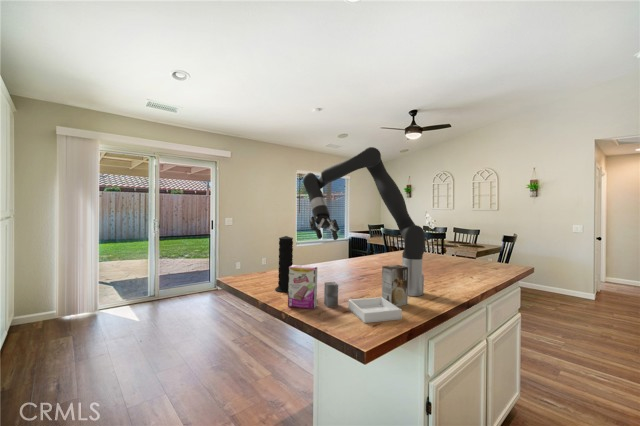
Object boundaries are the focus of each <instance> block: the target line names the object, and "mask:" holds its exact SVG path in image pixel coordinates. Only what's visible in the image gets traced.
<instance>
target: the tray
mask: <svg viewBox="0 0 640 426" xmlns="http://www.w3.org/2000/svg"><path fill="white" fill-rule="evenodd" d="M347 302H348V303H347V304H348V305H347V309H348V310H350V312H351V313H352V314H354V315H355V316H356V317H357V318H358V319H359V320H360V321H361V322H363V324H369V323H377V322H378V323H379V322H389V321H396V320H403V319H402V312H403V309H401V308H399V306H395V305H393V304H392V303H390V302H389V301H387V300H385V299H384V298H382V296H378V297H367V298H354V299H348V301H347Z"/></svg>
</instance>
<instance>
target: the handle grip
mask: <svg viewBox="0 0 640 426" xmlns="http://www.w3.org/2000/svg"><path fill="white" fill-rule="evenodd" d="M278 245H279V246H278V275H277V277H278V282H277V284H278V286H276V287H275V289H274V291H275V292H277V293H283V294H285V293H286V294H288V281H289V267H290V266H291V265H294V263H293V260H294V259H293V257H294V255H293V253H294V246H293V245H294V238H293V237H290V236H288V235H284V236H281V237H279V238H278Z"/></svg>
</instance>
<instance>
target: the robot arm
mask: <svg viewBox="0 0 640 426" xmlns="http://www.w3.org/2000/svg"><path fill="white" fill-rule="evenodd" d="M364 168H366V169H367V171H368V172H369V174H370V175H371V177H372V179H373V181H374V184H375V186H376V189H377V191H378V194H379V196H380V197H381V199H382V201H383V203H384V204H385V206H386V207H385V208H387V210H388V212H389V213H390V215H391V216H392V218H393V219H394V221H395V223H396V226H397V228H398V230H399V233H400V235H401V238H402V239H403V240H404V248H403V251H402V253H401V254H402V256H401V257H402V261H401V266H405V267H408V296H409V297H420V296H422V295H424V291H425V290H424V288H425V287H424V285H425V283H424V282H425V274H423V255H424V252H425V242H426V235H425V231H424V229H423V227H421V226H420V225H417V224H415V222H414V220H413V219H412V217H411V215H410V214H409V212H408V209H407V204H406V201H405V198H404V196H403V194H402V192H401V190H400V188H399V187H398V184H397V183H396V182H395V181H394V179H393V178H392V176H391V175H390V174H389V172H388V171H387V169H386V167H385V165H384V163H383V160H382V154H381V152H380V150H379V149H378V148H376V147H373V146H369V147H367V148H365V149H364V150H362V151H361V152H360V153H358V154H357V155H354V156H353V157H351V158H349V159H346V160H344V161H342V162H339V163H337V164H334V165H332V166H329V167H327V168H325V169H323V170H322V171H320V176H319V177H317V176H316V175H315V173H313V172H307V173H305V174H304V176H303V178H302V182H303V185H304V189H305V191H306V192H307V195H308V196H307V197H308V200H309V204H310V208H311V209H310V210H311V212H312V215H313V216H311V217H310V218H309V226H310V230H311V231H314V232H315V233H316V237H317V239H318V240H321V239H323V234H322V231H321V229H326V230H327V231H329V232H330V233H331V235H332V239H333V241H336V240H338V238H339V236H338V232H339V231H340V227H339V224H338V222H337V220H336V219H333V220H332V219H331V218H330V212H329V211H330V210H329V207H328V205H327V202H326V199H325V196H324V193H323V192H322V189H323V188H324V187H325V186H327V185H328V184H330V183H333V182H334V181H337V180H339V179H341V178H344V177H346V176H347V175H349V174H350V173H353V172H355V171H358V170H361V169H364ZM316 224H317V225H316Z"/></svg>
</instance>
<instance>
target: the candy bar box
mask: <svg viewBox="0 0 640 426" xmlns="http://www.w3.org/2000/svg"><path fill="white" fill-rule="evenodd" d="M317 294H318V266H313V265H312V266H311V265H299V264H298V265H297V264H292V265H291V266H290V267H289V281H288V292H287V307H289V308H297V309H299V308H300V309H307V310H308V309H309V310H314V309H315V308H316V307H317V303H318V302H317V298H318V297H317V296H318V295H317Z"/></svg>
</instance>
